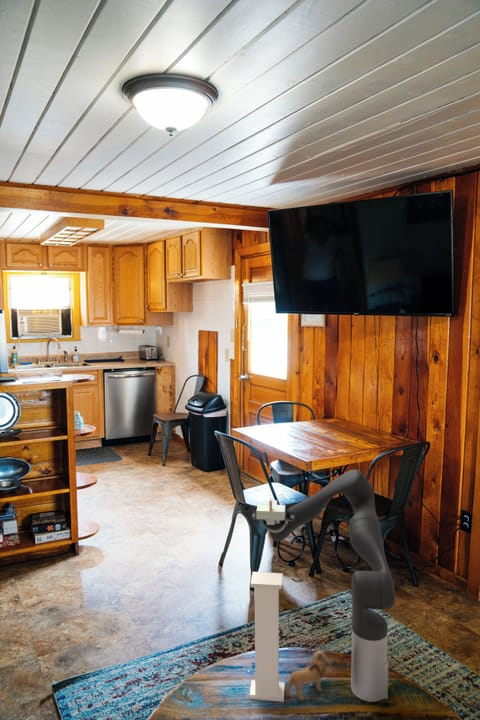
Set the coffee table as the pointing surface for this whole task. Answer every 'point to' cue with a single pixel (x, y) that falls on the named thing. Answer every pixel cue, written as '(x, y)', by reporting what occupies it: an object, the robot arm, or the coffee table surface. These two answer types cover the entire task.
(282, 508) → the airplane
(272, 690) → the stand
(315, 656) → the lion figurine
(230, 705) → the coffee table surface
